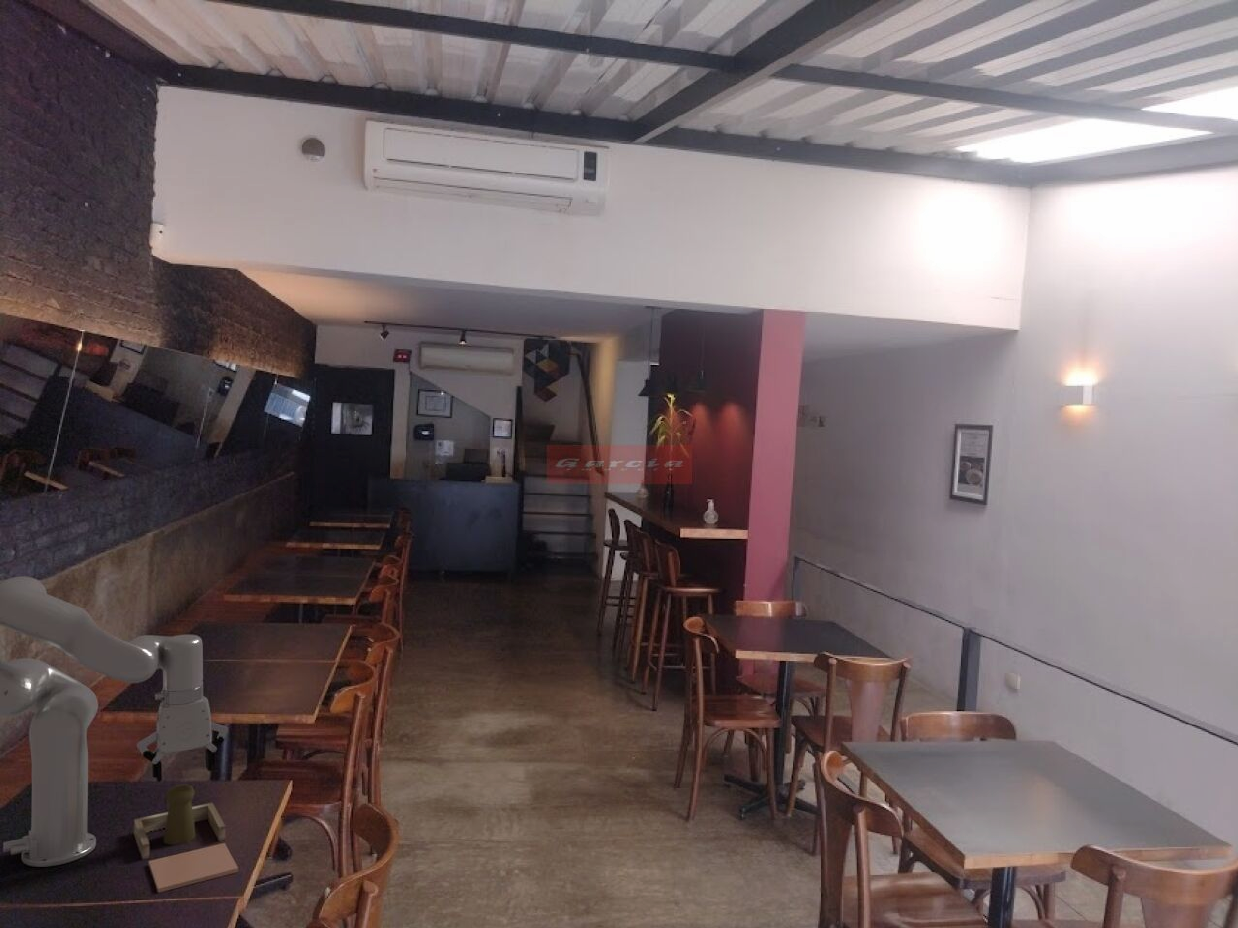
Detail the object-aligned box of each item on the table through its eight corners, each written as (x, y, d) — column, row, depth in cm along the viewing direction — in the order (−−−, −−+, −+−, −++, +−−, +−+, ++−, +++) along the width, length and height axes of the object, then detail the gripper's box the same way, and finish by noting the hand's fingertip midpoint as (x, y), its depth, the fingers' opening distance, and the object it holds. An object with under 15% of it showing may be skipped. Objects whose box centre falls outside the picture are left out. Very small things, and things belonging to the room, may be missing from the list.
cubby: (142, 859, 170) (142, 844, 170) (133, 832, 180) (133, 819, 180) (225, 839, 179) (225, 825, 179) (212, 815, 190) (212, 802, 189)
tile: (158, 892, 158) (158, 888, 158) (148, 864, 168) (148, 860, 168) (238, 871, 167) (238, 867, 167) (224, 846, 176) (224, 842, 176)
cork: (182, 846, 176) (183, 794, 175) (156, 842, 177) (157, 790, 176) (201, 832, 182) (202, 782, 181) (177, 829, 183) (178, 779, 182)
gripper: (139, 707, 170) (140, 790, 171) (231, 692, 180) (232, 770, 181) (134, 697, 176) (135, 777, 177) (223, 683, 186) (224, 759, 187)
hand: (184, 774), depth 179 cm, fingers open, 9 cm apart
